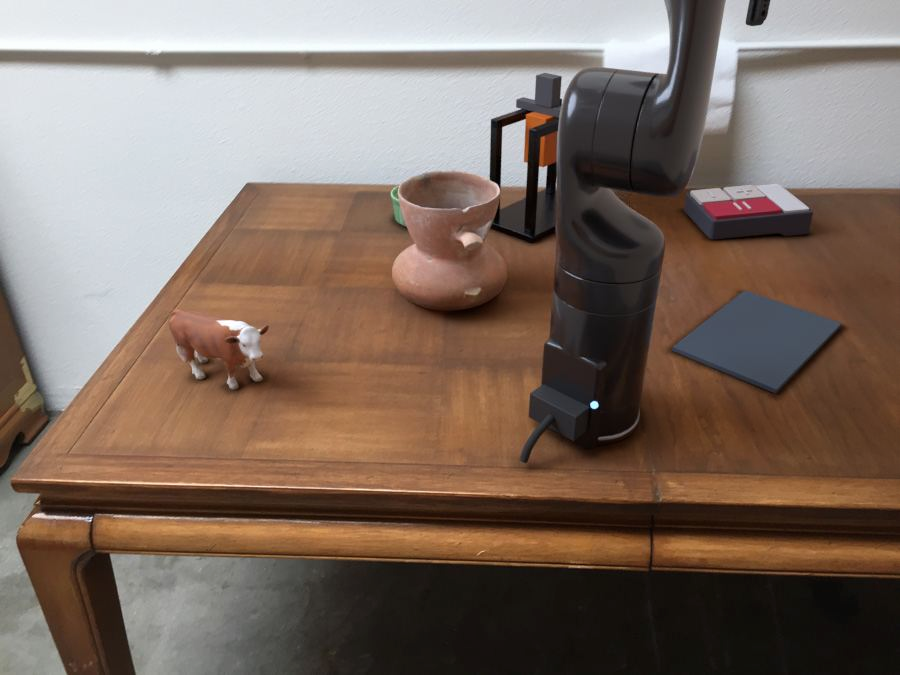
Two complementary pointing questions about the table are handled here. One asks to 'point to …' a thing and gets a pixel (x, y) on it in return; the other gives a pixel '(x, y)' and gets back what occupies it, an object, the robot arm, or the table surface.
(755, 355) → the mat
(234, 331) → the bull figurine
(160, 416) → the table surface
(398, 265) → the ceramic jug
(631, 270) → the robot arm
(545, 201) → the rack
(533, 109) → the orange block with crossbar
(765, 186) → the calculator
